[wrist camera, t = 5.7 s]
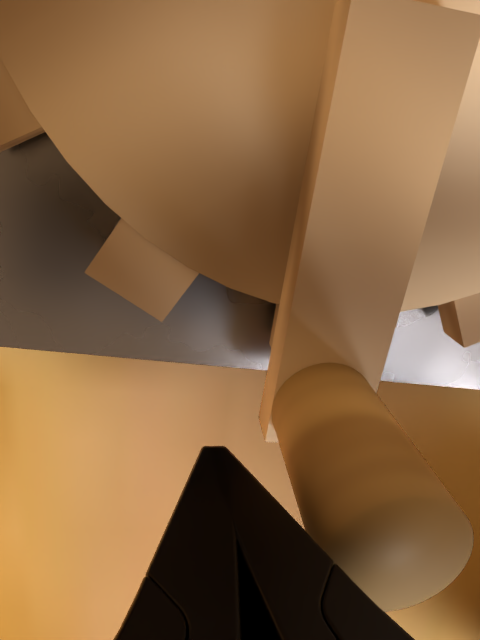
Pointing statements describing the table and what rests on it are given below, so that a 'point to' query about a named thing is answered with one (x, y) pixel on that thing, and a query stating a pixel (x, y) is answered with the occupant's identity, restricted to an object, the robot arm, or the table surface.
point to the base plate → (131, 321)
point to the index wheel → (286, 216)
